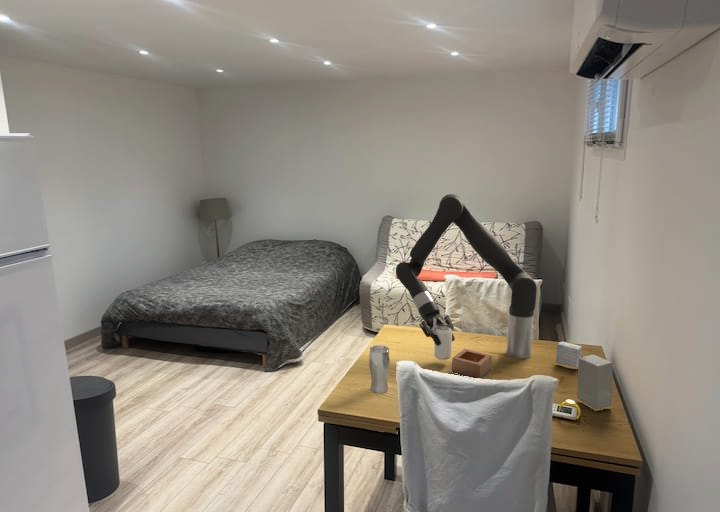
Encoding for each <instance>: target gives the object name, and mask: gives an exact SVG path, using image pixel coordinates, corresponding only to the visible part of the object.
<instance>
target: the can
mask: <svg viewBox="0 0 720 512" xmlns="http://www.w3.org/2000/svg"><path fill="white" fill-rule="evenodd" d="M437 326H438V325H437ZM437 326H436V335H437V336H438V337H439V339H440V341H441V344H440V345H439V346H437V345H436V344H435V343H434V357H435V358H436V359H438V360H443V361H445V360H450V359H452V358H451V357H452V354H453V353H452V352H453V351H452V349H453V348H452V347H453V342H452V333H453V331H452V330H453V329H452V330H451V326H449V325H441V326H438V327H437Z"/></svg>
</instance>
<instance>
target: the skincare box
mask: <svg viewBox="0 0 720 512" xmlns="http://www.w3.org/2000/svg"><path fill="white" fill-rule="evenodd" d="M613 365H614V363H613V362H611V361H609V360H607V359H605V358H603V357H601V356H598V355H595V354H590V355H589V354H588V355H585V356H581V357H580V358H579V363H578V370H577V371H578V372H577V399H579V400H580V401H582V402H583V403H585V404H587V405H589V406H591V407H592V408H594V409H601V408H604V407H608V406H611V407H612V397H613V396H612V395H613V369H614V368H613Z"/></svg>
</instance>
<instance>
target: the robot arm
mask: <svg viewBox="0 0 720 512" xmlns="http://www.w3.org/2000/svg"><path fill="white" fill-rule="evenodd" d="M453 223H454V224H455V226H456V227H458V228H459V230H460V232H462V233H463V235H464V237H465V238H466V241H467V242H468V243H469V245H470V246H471V248H472V249H473V251H474V252H475V253H476V254H477V255H478V256H479V257H480V258H481V259H482V260H483V261H484V262H486V264H488V265H489V266H490V267H492V268H493V269H494V270H495V271H497V272H498V273H499V274H500V276H501V277H502V278H503V279H504V281H505V282H506V283H507V285H508V287H509V288H510V290H511V297H510V298H511V299H510V305H509V308H508V309H509V311H508V327H507V329H508V330H507V342H506V355H507V356H508V357H510V358H513V359H516V360H526V359H529V358H530V357H531V352H532V341H533V340H532V338H533V325H534V312H535V310H536V303H537V294H538V293H537V290H538V287H537V284H536V281H535V280H534V279H533V277H532V276H531V275H529V273H527V272H526V271H525V270H523V268H521V267H520V266H519V264H518V263H516V262H515V261H514V260H513V259H512V257H511V256H510V254H509V253H508V251H507V250H506V249H505V247H504V246H503V245H502V243H501V242H500V241H499V240H498V239H497V238H496V237H495V236H494V235H493V233H492V232H491V231H490V230H489V229H488V228H487V227H486V226H485V225H484V224H483V223H482V222H480V221H479V220H478V219H477V218H476V217H475V216H474V214H472V213H471V211H470V210H469V208H468V207H467V206H466V205H465V203H464V201H463V200H462V198H461V197H460V196H458V195H457V194H451V193H450V194H449V193H448V194H446V195H444V196H443V197H442V198H441V199H440V201H439V203H438V209H437V211H436V213H435V215H434V217H433V219H432V221H431V223H430V224H429V226H428V227H427V228H426V230H425V231H424V232H423V233H422V234H421V236H420V237H419V238H418V240H417V241H416V242H415V244H414V245H413V247H412V248H411V249H410V251H409V256H410V258H411V259H409V260H410V261H409V262H406V261H401V262H399V263H398V264H397V265H396V267H395V274H396V277H397V279H398V281H399V282H400V283H401V284H402V286H403V287H404V288H405V289H406V290H407V291H408V293H409V296H410V297H411V299H412V300H413V301H412V302H413V303H414V306H415V308H416V310H417V311H418V313H419V316H420V317H421V319H422V321H421V322H420V323H419V324H418V325H419V327H420V329H421V330H422V332H423V334H424V335H425V337H426V338H431V339H432V341H433V342H434V345H435V344H436V345H437V346H439V345H440V344H441V341H440V339H439V337H438V336H437V335H436V326H437V325H438V326H441V325H449V326H451V330H453V329H454V328H455V327H454V324H453V322H452V320H451V318H450V316H449V314H446V315H444V316H443V315H442V314H441V313H440V312H441V311H440V309H439V306H438V305H437V303H436V301H435V299H434V297H433V296H432V295H431V293H430V292H429V290H428V288H427V286H426V284H425V283H424V282H423V281H422V280H421V279H418V277H419V275H421V274H422V273H421V272H422V270H423V267H424V265H425V261H426V260H427V258H428V257H429V256H430V254H431V253H432V251H433V250H434V248H435V247H436V246H437V244H438V242H439V240H440V239H441V237H442V236H443V234H444V233H445V232H446V231H447V229H448V228H449V227H450V226H451V225H452V224H453ZM438 326H437V327H438ZM455 337H456V336H454V333H453V332H452V343H453V342H454V341H455V339H456V338H455Z"/></svg>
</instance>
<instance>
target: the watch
mask: <svg viewBox="0 0 720 512" xmlns="http://www.w3.org/2000/svg"><path fill="white" fill-rule="evenodd" d="M564 405H568V406H571V407H575V408H576V409H577V411H578V414H577V416H576V417H577V420H578V419H579V418H580V417H581V408H580V406H579V405H578V404H577V403H576V400H573V399H569V398H568V399H566V400H565V401H563V402H561V403H560V404H559V408H558V413H559V412H560V410H562V407H563V406H564Z"/></svg>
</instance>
